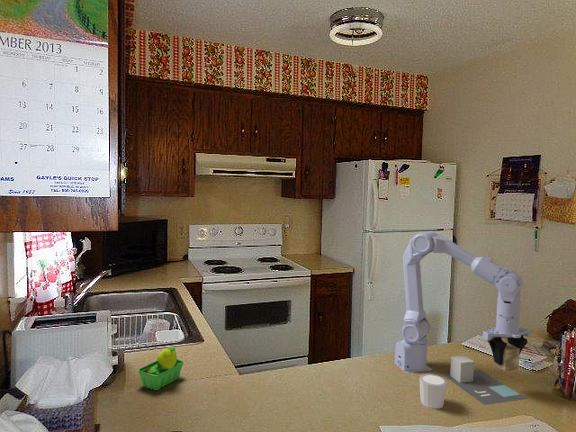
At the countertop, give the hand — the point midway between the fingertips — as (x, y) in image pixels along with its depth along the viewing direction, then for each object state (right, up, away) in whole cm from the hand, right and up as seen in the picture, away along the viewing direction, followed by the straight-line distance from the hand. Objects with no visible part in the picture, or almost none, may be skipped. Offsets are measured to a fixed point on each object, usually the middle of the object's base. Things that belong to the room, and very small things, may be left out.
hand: (505, 362), depth 111 cm
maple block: (0, -1, 0) cm, 1 cm away
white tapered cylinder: (-23, -9, -6) cm, 26 cm away
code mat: (-5, -9, +3) cm, 11 cm away
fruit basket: (-98, -7, +3) cm, 98 cm away
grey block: (-9, -8, +7) cm, 14 cm away
